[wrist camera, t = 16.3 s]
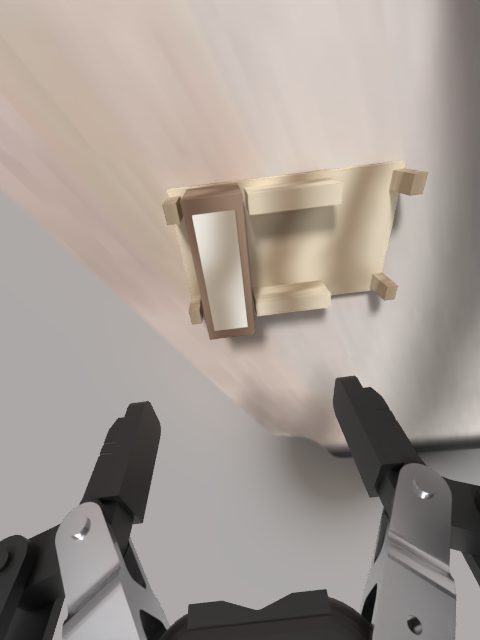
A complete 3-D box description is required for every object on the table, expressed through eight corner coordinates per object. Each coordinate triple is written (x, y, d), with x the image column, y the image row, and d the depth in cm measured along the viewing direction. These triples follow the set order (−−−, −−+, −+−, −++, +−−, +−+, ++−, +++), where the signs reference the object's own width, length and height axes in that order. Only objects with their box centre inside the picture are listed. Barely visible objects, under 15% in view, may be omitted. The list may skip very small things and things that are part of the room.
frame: (239, 182, 22) (244, 193, 18) (250, 305, 29) (256, 334, 24) (186, 189, 22) (179, 201, 18) (210, 310, 29) (209, 340, 24)
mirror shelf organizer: (399, 160, 23) (430, 164, 20) (373, 285, 30) (393, 303, 26) (168, 188, 23) (160, 197, 19) (195, 307, 30) (193, 328, 26)
